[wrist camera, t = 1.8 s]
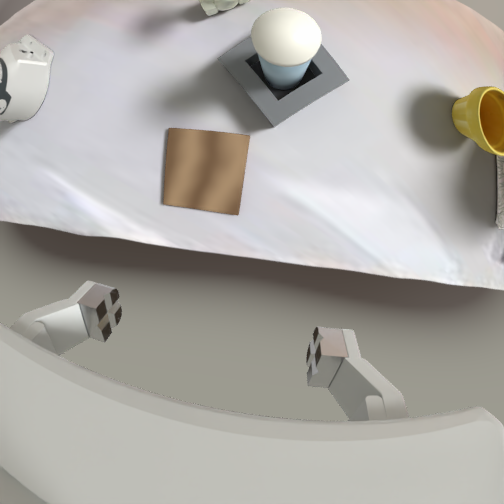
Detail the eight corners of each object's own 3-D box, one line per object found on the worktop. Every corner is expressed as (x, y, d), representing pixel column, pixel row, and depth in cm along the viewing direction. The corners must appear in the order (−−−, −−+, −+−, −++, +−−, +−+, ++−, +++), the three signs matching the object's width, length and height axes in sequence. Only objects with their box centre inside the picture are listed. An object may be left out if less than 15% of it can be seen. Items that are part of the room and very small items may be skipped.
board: (165, 202, 42) (163, 204, 41) (171, 128, 37) (168, 128, 36) (238, 213, 42) (238, 215, 41) (250, 135, 37) (249, 135, 36)
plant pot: (455, 155, 34) (490, 165, 25) (433, 96, 30) (468, 94, 21) (490, 137, 31) (525, 145, 22) (471, 83, 27) (507, 81, 18)
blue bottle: (254, 68, 32) (237, 29, 17) (287, 48, 30) (292, -2, 15) (278, 98, 34) (279, 76, 19) (312, 77, 32) (335, 44, 17)
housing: (223, 65, 32) (217, 58, 28) (291, 24, 28) (292, 12, 24) (274, 127, 36) (273, 126, 32) (341, 85, 32) (349, 80, 28)
